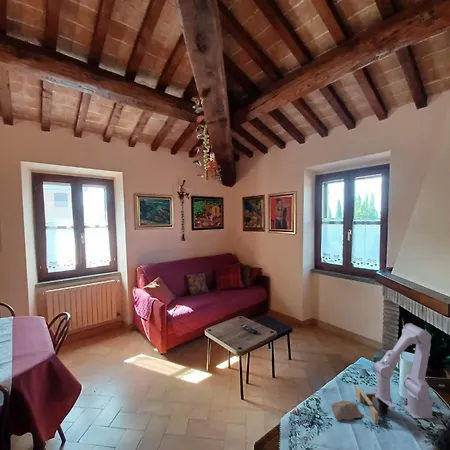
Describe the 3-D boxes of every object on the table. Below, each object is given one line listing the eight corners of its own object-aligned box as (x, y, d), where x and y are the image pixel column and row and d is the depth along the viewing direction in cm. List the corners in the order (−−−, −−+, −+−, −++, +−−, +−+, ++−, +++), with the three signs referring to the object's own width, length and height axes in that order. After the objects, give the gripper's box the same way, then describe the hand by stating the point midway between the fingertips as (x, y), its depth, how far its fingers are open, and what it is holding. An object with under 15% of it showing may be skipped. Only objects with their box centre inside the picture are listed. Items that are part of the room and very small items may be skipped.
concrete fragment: (363, 420, 121) (363, 408, 121) (336, 422, 120) (336, 410, 120) (355, 409, 128) (355, 397, 128) (329, 411, 127) (329, 400, 127)
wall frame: (358, 395, 138) (358, 384, 138) (378, 423, 119) (377, 410, 119) (355, 395, 138) (355, 384, 138) (375, 423, 119) (374, 410, 119)
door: (362, 402, 133) (362, 393, 132) (377, 402, 132) (377, 393, 132) (364, 406, 130) (364, 396, 130) (380, 405, 130) (379, 396, 130)
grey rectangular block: (380, 406, 130) (380, 396, 130) (387, 414, 124) (387, 404, 124) (372, 406, 130) (371, 396, 130) (378, 414, 124) (378, 405, 124)
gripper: (367, 377, 131) (368, 403, 131) (384, 397, 116) (384, 425, 116) (380, 377, 130) (381, 403, 131) (399, 397, 116) (400, 425, 116)
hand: (384, 413), depth 123 cm, fingers closed, pressing on grey rectangular block
